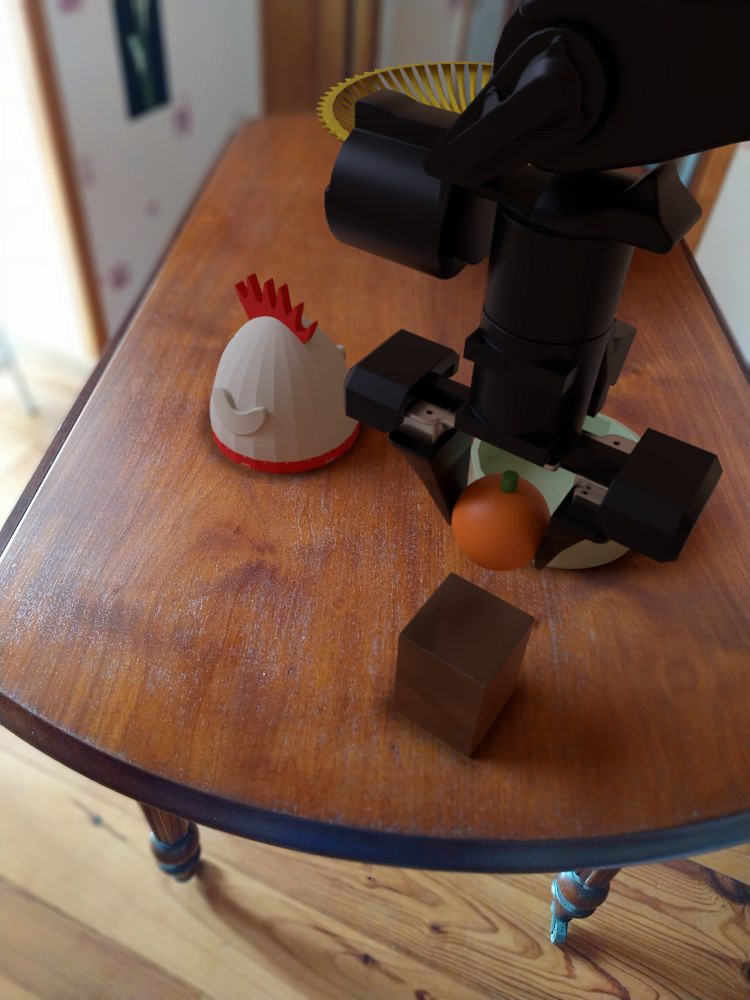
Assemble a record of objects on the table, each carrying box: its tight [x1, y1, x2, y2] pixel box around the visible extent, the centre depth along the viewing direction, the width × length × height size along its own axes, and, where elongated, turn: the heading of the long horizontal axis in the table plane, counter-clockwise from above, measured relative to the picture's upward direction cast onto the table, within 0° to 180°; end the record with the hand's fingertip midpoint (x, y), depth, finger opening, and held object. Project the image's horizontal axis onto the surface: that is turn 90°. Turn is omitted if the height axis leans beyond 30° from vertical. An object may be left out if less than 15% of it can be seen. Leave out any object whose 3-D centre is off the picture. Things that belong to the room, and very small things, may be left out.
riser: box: [392, 571, 536, 759], centre depth 48 cm, size 6×6×9 cm
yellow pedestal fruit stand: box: [315, 60, 530, 165], centre depth 95 cm, size 40×40×15 cm
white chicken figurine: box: [209, 272, 360, 474], centre depth 66 cm, size 14×14×15 cm
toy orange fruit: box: [451, 470, 551, 572], centre depth 43 cm, size 6×6×6 cm
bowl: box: [468, 412, 641, 570], centre depth 63 cm, size 15×15×5 cm
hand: (497, 542), depth 44 cm, fingers closed on toy orange fruit, 5 cm apart
